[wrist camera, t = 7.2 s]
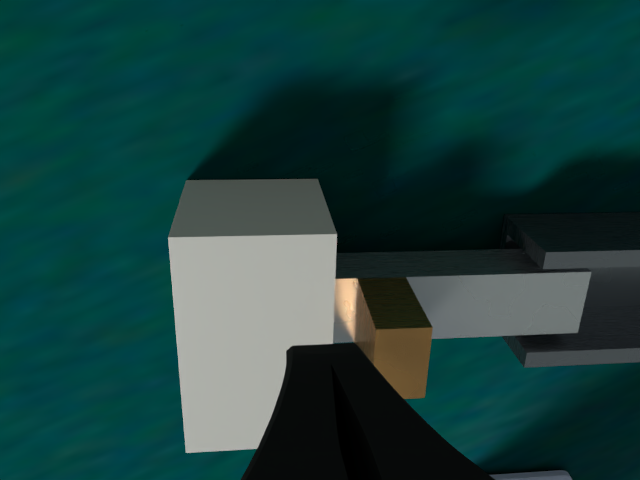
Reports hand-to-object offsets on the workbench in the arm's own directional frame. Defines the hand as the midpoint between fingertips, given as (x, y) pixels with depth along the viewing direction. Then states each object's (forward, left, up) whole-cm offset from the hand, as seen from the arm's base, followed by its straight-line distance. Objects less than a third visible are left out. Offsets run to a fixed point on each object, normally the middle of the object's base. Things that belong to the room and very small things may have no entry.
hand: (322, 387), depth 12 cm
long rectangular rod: (-3, -4, -9) cm, 11 cm away
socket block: (-3, +1, -10) cm, 11 cm away
